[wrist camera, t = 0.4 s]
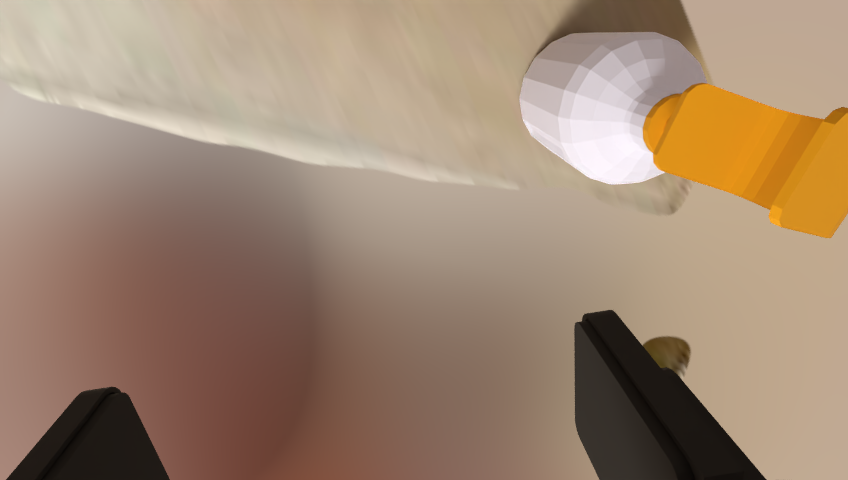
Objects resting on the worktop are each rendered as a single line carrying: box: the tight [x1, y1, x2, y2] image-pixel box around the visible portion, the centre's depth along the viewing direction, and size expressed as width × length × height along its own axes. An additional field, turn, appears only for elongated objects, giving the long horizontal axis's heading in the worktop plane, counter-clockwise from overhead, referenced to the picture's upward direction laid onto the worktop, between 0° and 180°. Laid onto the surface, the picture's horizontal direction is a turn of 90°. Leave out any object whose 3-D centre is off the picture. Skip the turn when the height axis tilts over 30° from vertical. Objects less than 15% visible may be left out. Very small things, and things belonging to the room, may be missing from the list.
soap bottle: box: [520, 32, 848, 238], centre depth 27 cm, size 9×9×25 cm
